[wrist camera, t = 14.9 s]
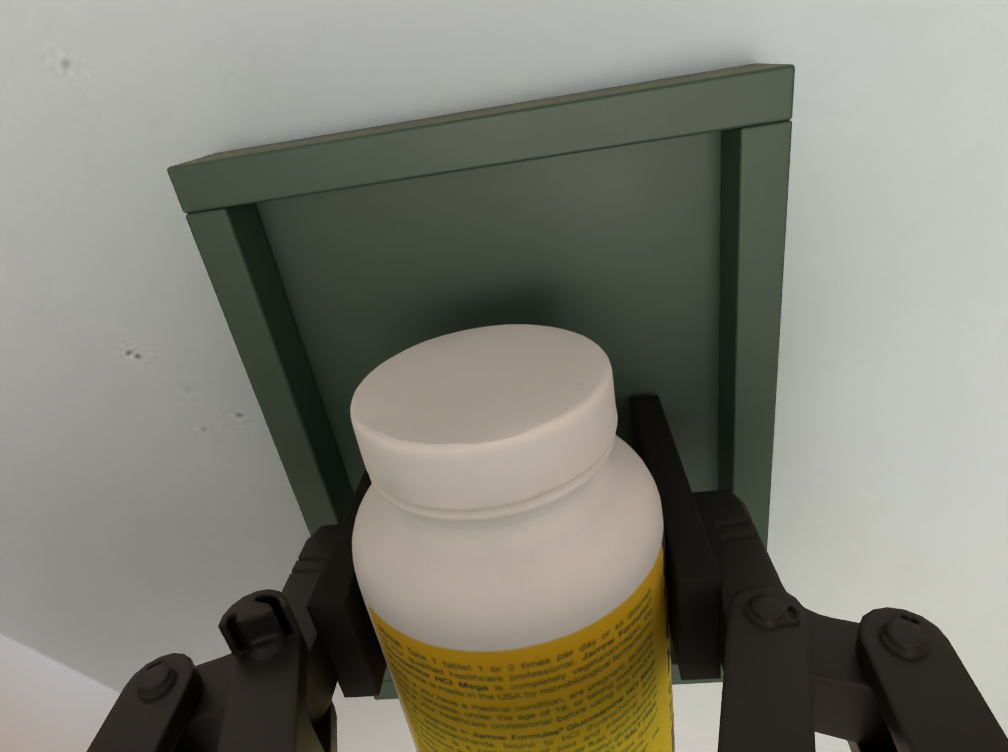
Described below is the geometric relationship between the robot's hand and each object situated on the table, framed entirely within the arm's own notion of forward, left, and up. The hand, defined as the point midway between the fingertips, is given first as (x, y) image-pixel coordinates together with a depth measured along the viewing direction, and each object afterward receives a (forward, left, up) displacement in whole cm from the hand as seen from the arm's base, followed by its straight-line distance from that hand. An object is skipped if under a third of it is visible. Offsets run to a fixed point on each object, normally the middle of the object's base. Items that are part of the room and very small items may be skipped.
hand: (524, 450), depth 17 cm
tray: (0, 0, -1) cm, 1 cm away
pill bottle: (+1, -6, +5) cm, 8 cm away
